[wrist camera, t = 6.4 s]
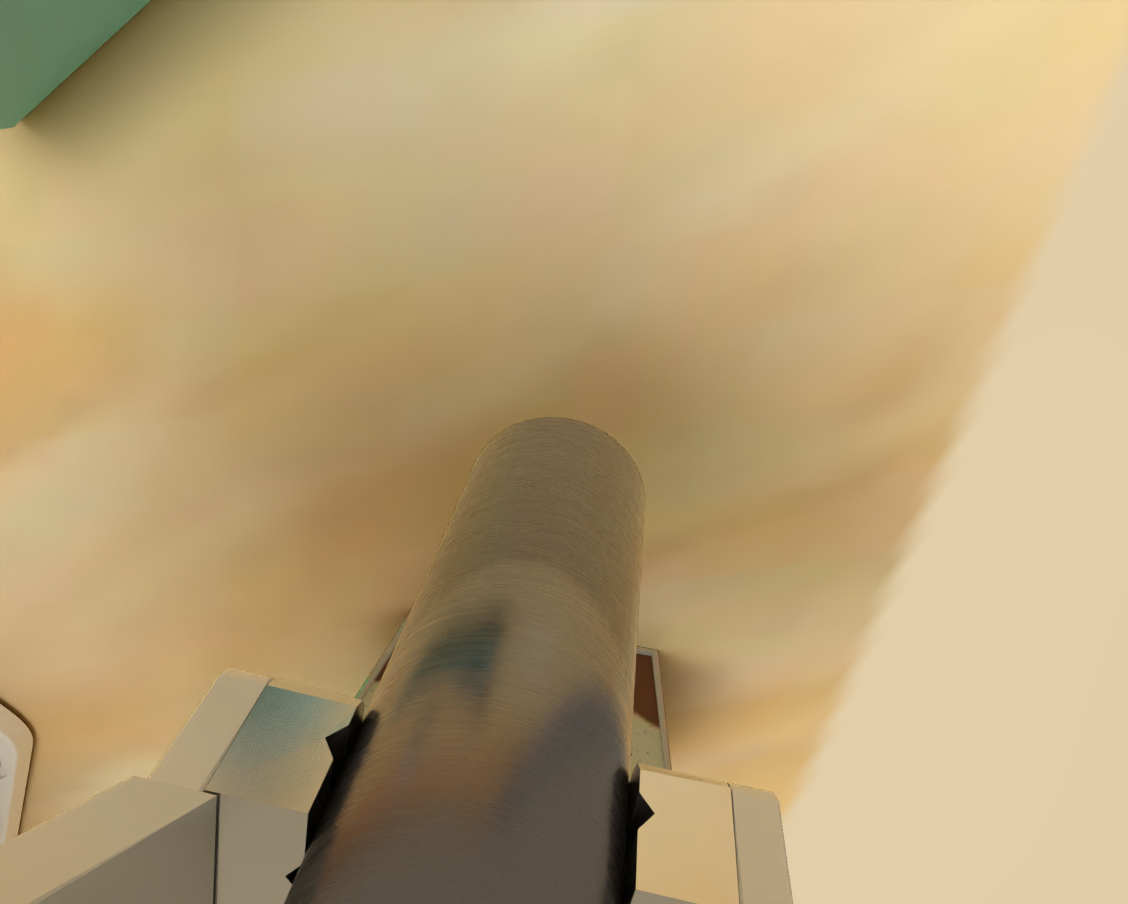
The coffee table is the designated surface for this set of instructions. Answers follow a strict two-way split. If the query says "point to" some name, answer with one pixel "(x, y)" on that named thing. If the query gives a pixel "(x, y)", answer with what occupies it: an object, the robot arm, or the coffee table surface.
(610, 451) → the hinge pin
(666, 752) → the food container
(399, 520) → the coffee table surface
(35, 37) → the teal hinge knuckle plate
